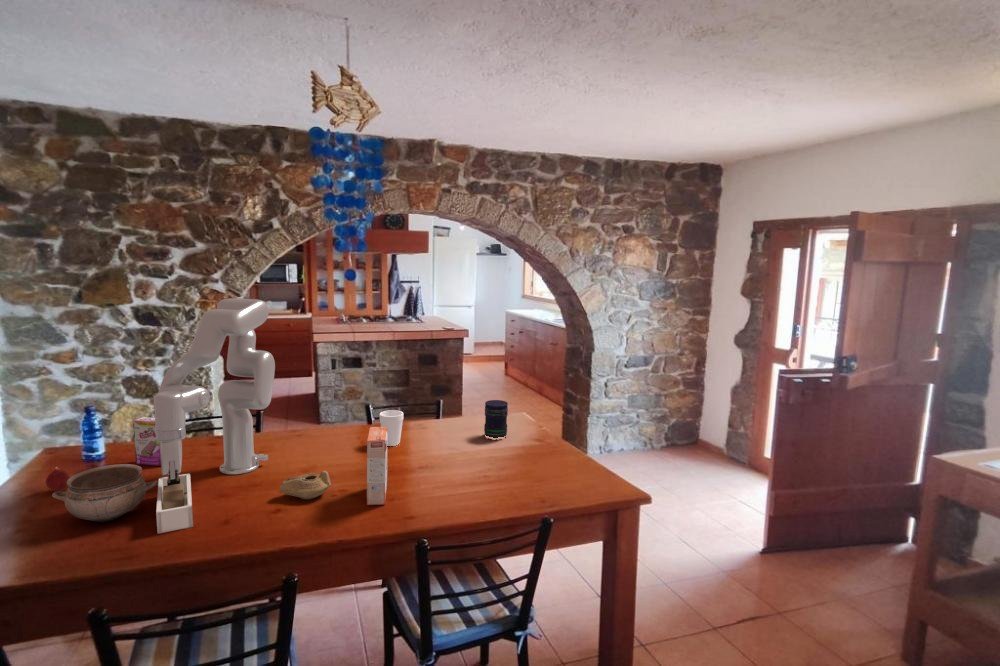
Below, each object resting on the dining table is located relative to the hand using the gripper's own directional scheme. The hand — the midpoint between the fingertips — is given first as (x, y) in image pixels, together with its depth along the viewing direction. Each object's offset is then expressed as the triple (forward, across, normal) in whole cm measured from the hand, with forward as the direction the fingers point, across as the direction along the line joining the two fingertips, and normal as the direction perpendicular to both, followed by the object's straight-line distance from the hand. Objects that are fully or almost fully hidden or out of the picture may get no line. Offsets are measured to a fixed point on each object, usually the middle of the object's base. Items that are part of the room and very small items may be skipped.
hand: (174, 492), depth 162 cm
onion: (+5, -28, -32) cm, 43 cm away
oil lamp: (+5, +9, +36) cm, 37 cm away
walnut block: (+2, +5, 0) cm, 5 cm away
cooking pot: (+5, -2, -16) cm, 17 cm away
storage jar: (+4, -16, +118) cm, 120 cm away
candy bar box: (+5, -42, -7) cm, 43 cm away
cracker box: (+5, +19, +56) cm, 59 cm away
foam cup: (+4, -25, +75) cm, 80 cm away
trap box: (+4, +4, 0) cm, 6 cm away
